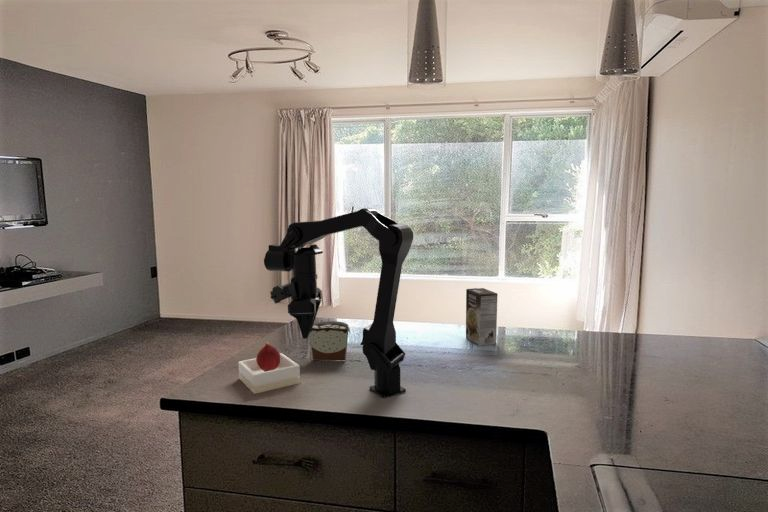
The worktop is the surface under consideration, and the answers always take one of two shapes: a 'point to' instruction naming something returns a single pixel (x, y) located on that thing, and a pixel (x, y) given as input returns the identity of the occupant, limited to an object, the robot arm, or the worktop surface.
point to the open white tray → (269, 375)
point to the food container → (329, 340)
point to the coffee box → (481, 316)
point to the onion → (268, 358)
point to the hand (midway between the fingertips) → (307, 333)
